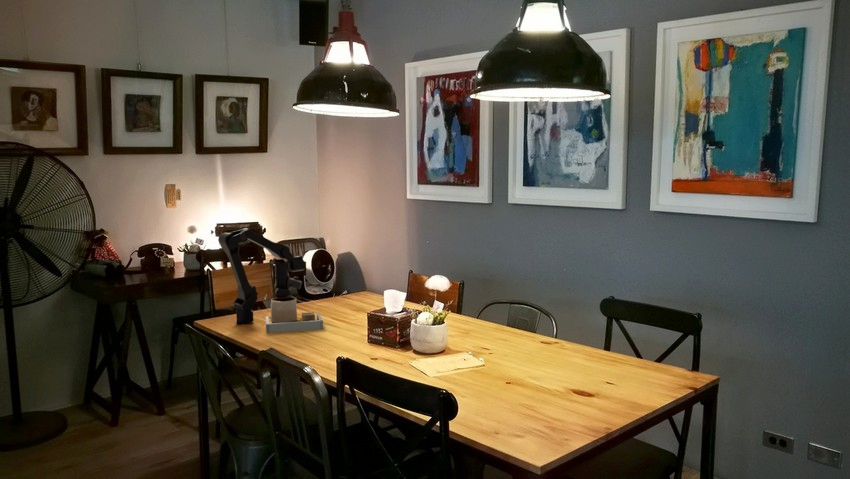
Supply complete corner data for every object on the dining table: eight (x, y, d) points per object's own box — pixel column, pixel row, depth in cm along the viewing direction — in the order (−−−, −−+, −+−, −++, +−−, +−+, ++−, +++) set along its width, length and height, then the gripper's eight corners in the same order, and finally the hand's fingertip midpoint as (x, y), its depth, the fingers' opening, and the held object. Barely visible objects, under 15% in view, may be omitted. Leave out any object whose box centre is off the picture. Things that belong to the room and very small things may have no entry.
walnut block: (303, 327, 278) (302, 315, 278) (302, 324, 283) (301, 312, 283) (315, 326, 280) (314, 314, 279) (314, 323, 284) (313, 312, 284)
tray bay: (266, 333, 269) (266, 324, 269) (265, 324, 283) (265, 316, 283) (323, 329, 275) (322, 320, 274) (319, 321, 288) (319, 313, 288)
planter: (266, 323, 286) (265, 300, 285) (279, 317, 296) (278, 295, 295) (289, 324, 283) (288, 302, 282) (301, 318, 293) (300, 297, 292)
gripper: (301, 275, 290) (302, 311, 292) (298, 269, 308) (299, 302, 310) (275, 277, 287) (276, 313, 289) (273, 270, 305) (275, 304, 307)
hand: (282, 308), depth 299 cm, fingers closed
